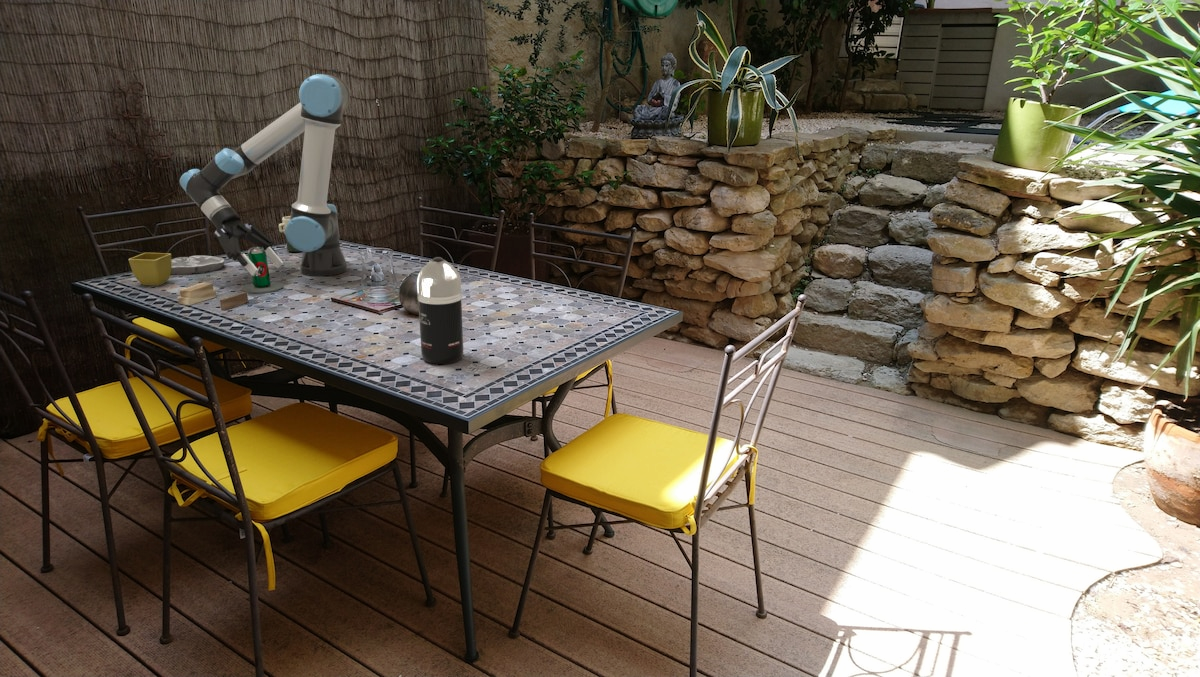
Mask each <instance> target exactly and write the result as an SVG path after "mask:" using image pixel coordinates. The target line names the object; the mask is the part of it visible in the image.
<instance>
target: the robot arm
mask: <svg viewBox="0 0 1200 677" xmlns="http://www.w3.org/2000/svg"><path fill="white" fill-rule="evenodd" d="M298 98H299V101H300V102H299V103H297V104H296V105H295V106H293V107H292V108H290V109H289V110H288V111H286V112H285V113H283V114H282V115H281V116H280V117H278V118H277V119H275V120H274V121H272V122H270V123H269V124H268V125H267V126H265V127H264V128H262V129H261V130H260V131H259V132H258V133H256V134H254V135H253V136H252V137H250V138H248V140H246V141H245V142H243V143H242V144H241V145H239V146H238V147H237V148H235V149H234V150H233V149H230V148H228V147H224V148H223V149H221V150H220V151H219V152H218V153H216V154H215V156H214V157H213V158H212V159H211V160H210V161H209V162H208V163H207V164H206V165H205V166H204V167H203V168H202V169H201V170H200V169H199V168H192V169H189V170H188V171H187V172H184V173H182V175H181V177H180V178H179V185H180V186H181V188H182V189H183V190H184V191H185V194H186V195H187V196H188V197H189V198H190V199H191V200H192V201H193V203H194V204H196V205H197V206H198V208H199V209H200V210H201V212H202V213H203V214H204V215H205V216H206V217H207V219H209V221H210V222H211V223H212V224H213V226H214V227H215V228H216V230H215V231H214V232H213V236H215V238H216V239H217V240H218V242H219V243H220V246H221V247H222V249H223V251H224V254H225V255H226V257H227V258H228V259H229V260H231V259H232V261H235V262H238V263H239V264H240V265H241V266H242V267H244V268H245V269H246V270H247V272H248V273H249V274H250V276H251V277H252V276H253V275H255V273H256V272H257V271H258V269H257V268H256V267H255V265H254V264H253V263H252V262H251V261H250V260H249V257H248V256H247V254H245V253H242V252H241V251H242V250H241V248H240V243H239V239H243V240H244V241H249V242H250V243H251V244H253V245H256V246H257V247H263V248H264V250H265V251H266V257H267V259H269V260H270V261H271V263H272V264H273V265H274V266H275V267H276V268H277V269H279V268H280V267H281V266H282V265H283V264H284V261H282V258H280V256H279V255H278V253H277V252H276V251H275V250H274V248H273V246H274V244H275V242H274V241H273V240H272V239H271V238H269V237H268V236H267V235H266V234H265V233H264V232H262V231H261V230H260V229H259V228H257V227H256V226H255V224H254V223H253V221H248V223H244V222H242V221H241V218H240V215H239V214H238V213H237V212H236V210H235V209H234V208H233V207H232V206H231V204H230V203H229V202H228V201H227V200H226V199H225V198H224V196H223V195H222V194H221V193H220V190H222V189H223V188H224V187H225V186H226V185H227V184H228V183H229V182H230V181H231V180H232V179H235V178H239V177H241V176H245V175H248V174H250V173H251V172H252V171H253V169H254V168H255V167H257V166H259V164H261V163H262V162H264V161H265V160H267V158H269V157H270V156H273V154H275V153H276V152H277V151H279V150H280V149H282V148H283V147H285V146H286V145H288V144H289V143H291V142H292V141H293V140H294V139H296V138H297V137H298V136H300V135H302V134H303V133H304V135H303V145H302V154H301V164H300V172H299V181H298V182H299V183H298V192H297V199H296V201H295V202H294V203H292V204H291V208H290V216H291V217H290V221H289V222H288V224H287V226H286V229H285V234H284V235H285V238H286V241H287V240H288V242H289V243H290V244H291V245H292V246H293V247H294V248H295V249H297V250H299V251H298V252H302V256H301V257H302V258H301V260H300V261H301V262H300V265H299V266H300V274H302V275H306V276H314V277H315V276H316V277H324V276H325V277H326V276H334V275H339V274H343V273H345V272H347V271H348V262H347V260H346V258H345V255H344V254H343V250H342V249H341V243H340V230H339V221H338V214H339V213H338V210H337V206H336V205H335V204H332V203H327V202H328V194H329V186H330V176H331V167H332V159H333V150H334V143H335V135H336V134H335V133H336V130H337V129H338V128H339V127H340V126H342V120H343V113H344V110H345V109H346V108H347V107H348V106H349V104H350V101H351V100H350V99H351V93H350V88H349V87H348V84H347V83H346V82H345V81H344V80H343V79H342V78H340V77H339V76H337V75H334V74H323V73H318V74H313V75H311V76H309V77H307V78H305V79H304V81H302V83H301V84H300V87H299V91H298Z"/></svg>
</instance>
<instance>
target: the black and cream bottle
mask: <svg viewBox="0 0 1200 677" xmlns="http://www.w3.org/2000/svg"><path fill="white" fill-rule="evenodd" d="M416 284H417V285H416V286H417V287H416V288H417V301H418V302H417V304H418V317H419V332H420V333H419V334H420V335H419V336H420V352H421V357H422V359H423V360H424V361H425V362H427V363H430V364H434V365H447V364H452V363H456V362H458V361H459V360H461V359H462V357H463V356H464V335H463V334H464V333H463V330H464V329H463V311H462V310H463V309H462V308H463V307H462V305H463V304H462V299H463V295H462V294H463V293H462V280H461V276H460V274H459V272H458V270H457V269H456V268H455V267H454V266H453V265H452V264H451V263H449V262H448V261H447V260H445V259H443V257H441V256H435V257H434V258H432V259H431V260H430V261H429V262H427V263H426V264H425V265H424V266H423V267H422V268H421V269H420V271H419V273H418V275H417V278H416Z"/></svg>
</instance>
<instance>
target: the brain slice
mask: <svg viewBox="0 0 1200 677" xmlns="http://www.w3.org/2000/svg"><path fill="white" fill-rule="evenodd" d="M171 262H172V269H171V274H170V275H171V276H176V275H175V274H179V275H193V274H192V273H195V274H203V272H205V273H209V272H208V271H210V272H214V271H215V270H216V271H219V270H220V269H221V268H222V267H223V266H224V264H225V259H224V258H223V257H221V256H220V257H219V256H212V255H191V256H179V257H175V258H174V257H173V258H171Z"/></svg>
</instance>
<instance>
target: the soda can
mask: <svg viewBox="0 0 1200 677" xmlns="http://www.w3.org/2000/svg"><path fill="white" fill-rule="evenodd" d="M247 255H248V256H247V257H248V258H249V260H250V261H251V262H252V263H253V264H254V265H255V267H256V268H257V269H258V271H257V272H256V273H255V275H253V276H252V275H251V280H252V283H253V285H254V286H255V287H257V288H264V287H268V286H270V284H271V276H270V270H269V264H268V263H269V262H268V256H267V255H266V251H265V250H264V248H263V247H258V246H257V247H256V246H254V247H250V248H248V251H247Z"/></svg>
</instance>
